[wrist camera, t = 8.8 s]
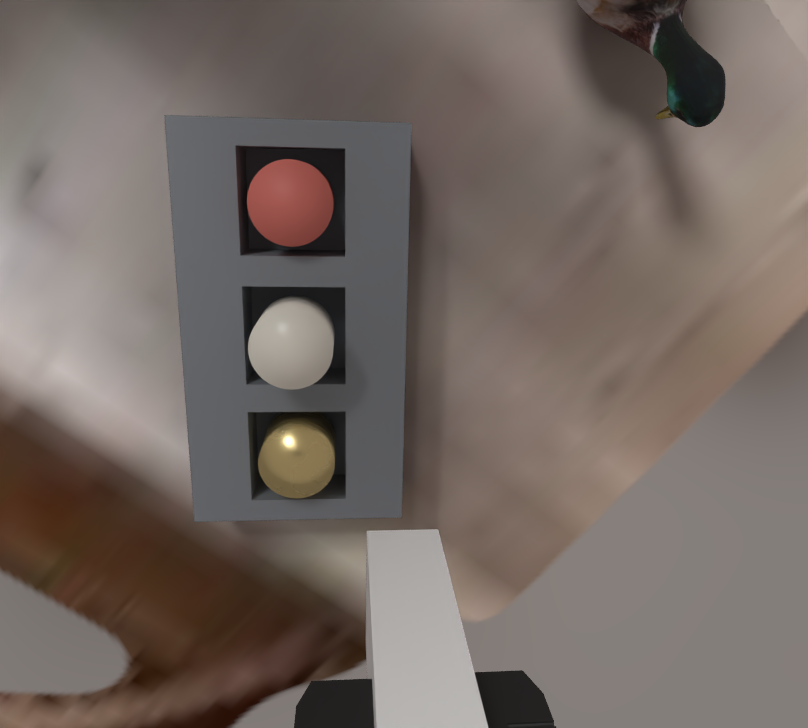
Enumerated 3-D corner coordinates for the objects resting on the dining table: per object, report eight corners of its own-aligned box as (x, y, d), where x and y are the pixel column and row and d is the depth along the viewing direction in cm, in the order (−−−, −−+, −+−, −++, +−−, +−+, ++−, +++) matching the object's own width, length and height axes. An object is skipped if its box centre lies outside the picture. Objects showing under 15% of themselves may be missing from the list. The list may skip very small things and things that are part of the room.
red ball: (258, 239, 36) (248, 245, 33) (255, 159, 35) (245, 158, 31) (334, 240, 36) (333, 247, 33) (334, 161, 35) (332, 160, 32)
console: (208, 489, 41) (194, 521, 38) (184, 121, 35) (164, 115, 31) (396, 486, 42) (401, 517, 39) (404, 128, 36) (411, 123, 32)
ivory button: (259, 369, 36) (249, 389, 33) (255, 295, 35) (246, 307, 32) (334, 369, 37) (333, 389, 33) (334, 295, 35) (332, 308, 32)
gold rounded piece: (267, 471, 40) (259, 499, 36) (264, 406, 39) (256, 428, 35) (336, 470, 40) (334, 497, 37) (335, 406, 39) (334, 428, 36)
